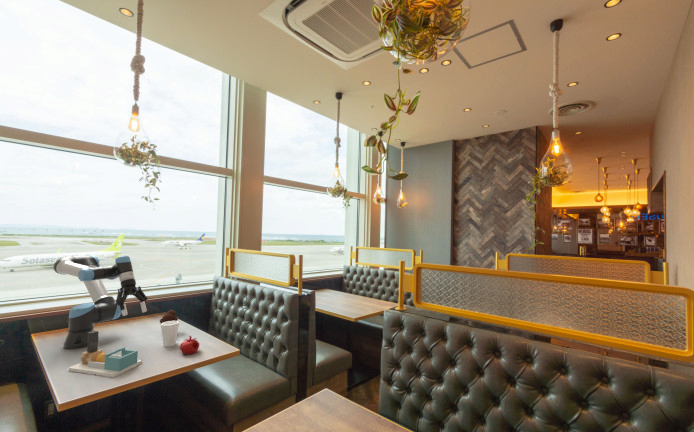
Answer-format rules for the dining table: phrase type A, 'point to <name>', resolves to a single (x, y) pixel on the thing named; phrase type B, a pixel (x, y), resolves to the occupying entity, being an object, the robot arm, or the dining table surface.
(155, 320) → the dining table surface
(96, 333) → the block
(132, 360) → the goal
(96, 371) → the board
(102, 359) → the ball
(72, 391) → the dining table surface
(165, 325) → the foam cup
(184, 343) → the pomegranate
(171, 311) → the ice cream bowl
